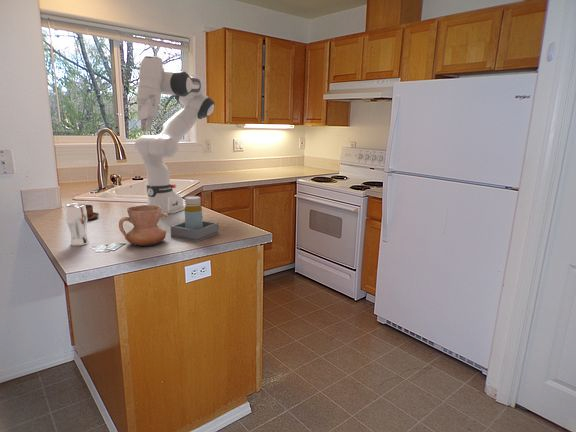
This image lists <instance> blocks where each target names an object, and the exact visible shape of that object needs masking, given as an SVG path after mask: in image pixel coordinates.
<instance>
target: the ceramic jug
mask: <svg viewBox="0 0 576 432" xmlns="http://www.w3.org/2000/svg"><path fill="white" fill-rule="evenodd" d="M126 211H127V214H128V217H127V216H124V217H121V218H120V220H119V221H118V228H119V231H120V232H121V234H122V235H123V236H124V239H125V240H126V241H127V242H128V243H129V244H132V245H134V246H139V247H145V246H146V247H148V246H155V245H158V244H159V243H161V242H163V241H164V240H165V239H166V236H167V235H166V234H167V230H165V229H164V228H162V227H160V226H159V225H158V223H159V222H160V221H159V220H160V219H161V218H163V217H168V214H169V213H162V214H161V207H160V206H158V205H147V204H141V205H135V206H129V207H128V208H127V210H126ZM124 222H128V223H130V224H132V225H133V227H132V228H131V229H130V230H129V231H128V232H126V231H125V229H124V227H123V226H124Z"/></svg>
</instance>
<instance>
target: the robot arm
mask: <svg viewBox="0 0 576 432" xmlns="http://www.w3.org/2000/svg"><path fill="white" fill-rule="evenodd" d="M163 65H164V63H163V58H161V57H159V56H152V55H144V56H143V57H142V58H141V61H140V66H139V72H138V78H139V81H138V82H139V84H138V86H137V92H136V93H137V95H136V102H137V120H138V121H140V131H141V132H146V131H149V132H150V131H152V125H153V122H154V120H156V119H157V117H158V109H159V108H158V107H159V105H158V104H160V103H161V95H169V96H170V95H171V96H173V97H174V99H175V100H176V102H177V103H179V104H181V105H182V106H184V108H182V109H180V110H178V111H176V113H174V114H172V116H171V117H169V118H168V120H167V121H165V122H164V123H163V124H162V131H161V132H160V133H158V134H155V135H154V134H145V135H141V136H139V137H137V139H135V142H134V148H135V151H136V152H137V153H138V154H139V155H140V157H141V160H142V161H143V165H144V168H145V172H146V183H147V184H146V193H147V198H146V199H147V200H146V201H147V202H146V205H158V206H160V207H161V214H162V213H167V214H175V213H178V212H180V211H185V206H186V205H185V204H184V200H183V197H182V196H181V195H179V194H178V193H177V192H175V191H174V189H176V188H177V185H176V184H174V183H172V184H171V180H170V169H169V167H168V166H167V165H166V164H165V162H164V160H163V159H168V158H172V157H175V156H176V155H177V154H178V152H179V142H180V141H181V140H182V138H184V137H185V135H187V134H188V133H189V132H190V130H191V129H192V128H193V127H194V125H195V124H196V122H197V121H198V119H199V120H202V119H204V118H207V117H209V116H211V115H212V113H213V112H214V110H215V107H216V104H215V101H214V99H212V98H211V97H210V96H208V95H207V94H205V91H206V88H207V84H206V81H205V79H204V78H202V77H201V76H199V75H198V74H196V73H191V72H187V71H177V70H176V71H173V70H166V69H165V68H164V66H163Z"/></svg>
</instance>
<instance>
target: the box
mask: <svg viewBox="0 0 576 432" xmlns="http://www.w3.org/2000/svg"><path fill="white" fill-rule="evenodd" d="M202 223H203V228H201V229H198V230H193V229H187V228H185V221H182V222H179V223H176V224H173V225H170V237H171V238H176V239H180V240H186V241H191V242H196V243H197V242H200V241H203V240H205V239H208V238H211V237H213V236H215V235H217V234H219V223H217V222H213V221H205V220H202Z"/></svg>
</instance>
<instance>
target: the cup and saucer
mask: <svg viewBox="0 0 576 432" xmlns="http://www.w3.org/2000/svg"><path fill="white" fill-rule="evenodd" d="M85 206H86V211H87V221H90V220H93V219H94V220H95V219H96V218H97V217H99V216H100V215H99V212H94V207H93V205H92V204H85Z"/></svg>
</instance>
